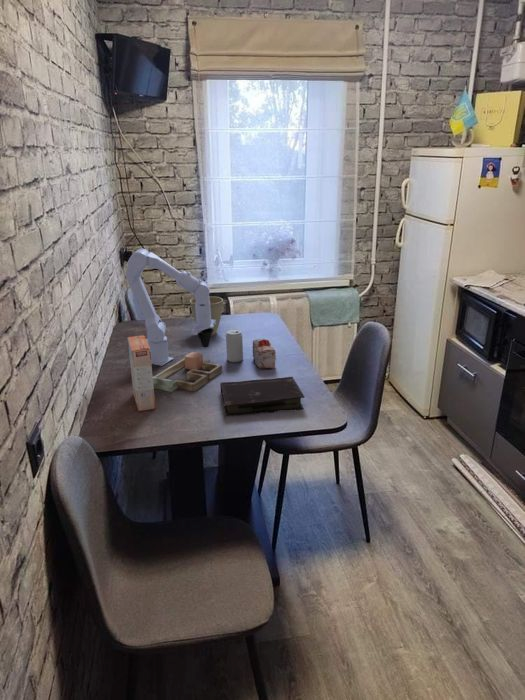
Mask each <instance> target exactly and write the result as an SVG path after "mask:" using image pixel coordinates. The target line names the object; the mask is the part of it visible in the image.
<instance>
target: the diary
mask: <svg viewBox="0 0 525 700" xmlns="http://www.w3.org/2000/svg"><path fill="white" fill-rule="evenodd" d="M220 393H221V394H222V395H223V396H222V397H223V402H224V404H225V406H224V405H223V409H224V410H225V411H224V410H223V411H224V414H225V415H224V416H225V417H239V416H250V415H259V414H269V413H272V414H273V413H276V412H284V411H288V412H291V411H303V410H305V408H304V406H303V404H302V398H305V395H304V394H303V392H302V390H301V388H300V387H299V385H298V384H297V381H296V380H295V379H294V377H293V376H287V377H286V376H285V377H278V378H277V377H276V378H265V379H264V378H263V379H260V378H259V379H251V380H242V381H223V382H220Z"/></svg>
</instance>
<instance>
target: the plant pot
mask: <svg viewBox="0 0 525 700" xmlns="http://www.w3.org/2000/svg"><path fill="white" fill-rule="evenodd" d="M209 298H210V308H211V319H213V320H216V325H214V327H213V328H212V329H213V332H212V334H211V337H212V336H214V335H216V334H217V332H218V330H219V327H220V326H219V325H220V322H221V317H222V314H223V313H222V312H223V307H224V299H223V298H222V297H219V296H215V295H214V296H210V295H209ZM195 302H196V299H195V297H193V298H190V300H189V303H190V307H191V308H190V309H191V312H192V316H193V319H194V321H195V326H196V325H197V322H196V307H195Z"/></svg>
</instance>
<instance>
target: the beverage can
mask: <svg viewBox="0 0 525 700" xmlns="http://www.w3.org/2000/svg"><path fill="white" fill-rule="evenodd" d="M225 341H226V343H225V344H226V346H225V347H226V360H227V361H229V362H230V363H240V362H241V361H242V360H244V347H243V333H242V331H241V330H239V329H229V330H227V331H226V334H225Z"/></svg>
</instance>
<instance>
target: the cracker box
mask: <svg viewBox="0 0 525 700" xmlns="http://www.w3.org/2000/svg"><path fill="white" fill-rule="evenodd" d="M146 339H147V338H146V336H145V335H134V336H128V337H127V347H128V354H129V355H128V356H129V362H130V363H129V364H130V372H131V374H130V375H131V384H132V391H133V396H134V401H135V405H136V407H137V408H136V409H137V412H143V411H150V410H155V409H156V399H155V390H154V389H155V388H154V386H153V377H154V375H153V367H152V366H153V364H151V352H150V347H149V345H148V343H147V340H146Z"/></svg>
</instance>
